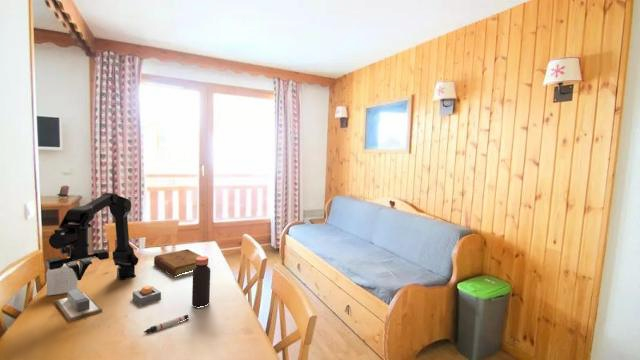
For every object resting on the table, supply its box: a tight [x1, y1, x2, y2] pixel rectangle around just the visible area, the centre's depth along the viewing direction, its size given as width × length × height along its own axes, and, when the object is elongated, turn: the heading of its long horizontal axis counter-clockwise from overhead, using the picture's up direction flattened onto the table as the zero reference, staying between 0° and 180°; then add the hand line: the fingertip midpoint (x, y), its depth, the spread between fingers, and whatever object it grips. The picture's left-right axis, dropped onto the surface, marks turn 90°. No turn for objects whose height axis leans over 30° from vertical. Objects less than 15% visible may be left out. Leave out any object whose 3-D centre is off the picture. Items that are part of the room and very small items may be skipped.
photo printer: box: [46, 264, 78, 296], centre depth 133 cm, size 10×4×12 cm, turn 123°
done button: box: [140, 285, 152, 296], centre depth 131 cm, size 4×4×2 cm
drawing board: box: [54, 292, 103, 323], centre depth 122 cm, size 10×20×1 cm, turn 52°
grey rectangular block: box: [66, 288, 89, 312], centre depth 122 cm, size 4×14×4 cm, turn 52°
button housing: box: [132, 286, 162, 306], centre depth 132 cm, size 8×8×3 cm
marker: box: [143, 314, 190, 334], centre depth 113 cm, size 15×2×2 cm, turn 137°
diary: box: [153, 249, 202, 278], centre depth 169 cm, size 23×19×6 cm
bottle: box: [191, 255, 211, 307], centre depth 129 cm, size 7×7×20 cm
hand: (79, 280), depth 121 cm, fingers closed
